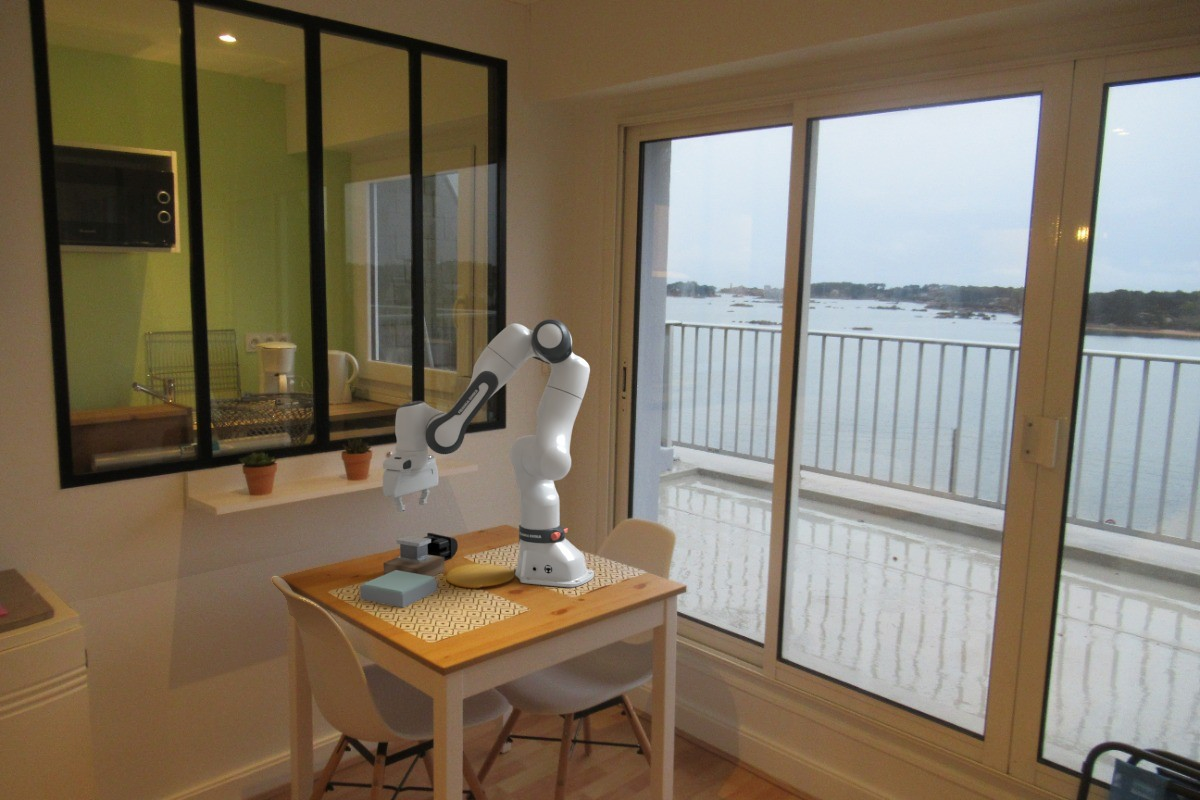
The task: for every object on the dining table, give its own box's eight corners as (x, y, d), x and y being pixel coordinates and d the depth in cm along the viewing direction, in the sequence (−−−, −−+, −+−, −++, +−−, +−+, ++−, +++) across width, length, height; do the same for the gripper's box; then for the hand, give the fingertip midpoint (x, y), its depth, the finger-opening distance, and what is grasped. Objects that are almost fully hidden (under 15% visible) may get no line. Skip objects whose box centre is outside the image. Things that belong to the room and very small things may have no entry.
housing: (431, 559, 241) (430, 538, 240) (419, 564, 236) (419, 543, 235) (409, 555, 244) (408, 535, 244) (397, 560, 240) (396, 539, 239)
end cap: (458, 557, 257) (458, 535, 256) (441, 563, 251) (441, 541, 250) (435, 552, 262) (434, 530, 262) (417, 557, 256) (417, 535, 256)
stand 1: (444, 570, 243) (444, 557, 243) (417, 582, 233) (417, 568, 232) (411, 565, 249) (411, 551, 248) (383, 576, 238) (383, 562, 237)
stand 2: (437, 591, 226) (437, 576, 225) (402, 607, 213) (402, 592, 213) (396, 583, 232) (395, 569, 232) (360, 599, 220) (359, 584, 219)
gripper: (426, 452, 248) (426, 499, 249) (378, 463, 229) (378, 513, 231) (443, 454, 245) (443, 501, 246) (396, 465, 227) (397, 516, 228)
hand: (412, 507), depth 238 cm, fingers open, 8 cm apart
